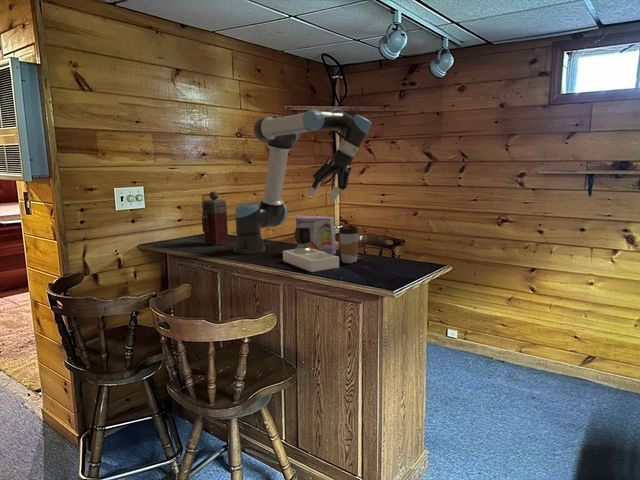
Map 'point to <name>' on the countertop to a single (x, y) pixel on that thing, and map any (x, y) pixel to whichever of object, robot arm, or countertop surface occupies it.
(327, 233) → the cake pan box
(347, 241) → the coffee cup
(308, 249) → the metal tin
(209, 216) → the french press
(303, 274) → the countertop surface
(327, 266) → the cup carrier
